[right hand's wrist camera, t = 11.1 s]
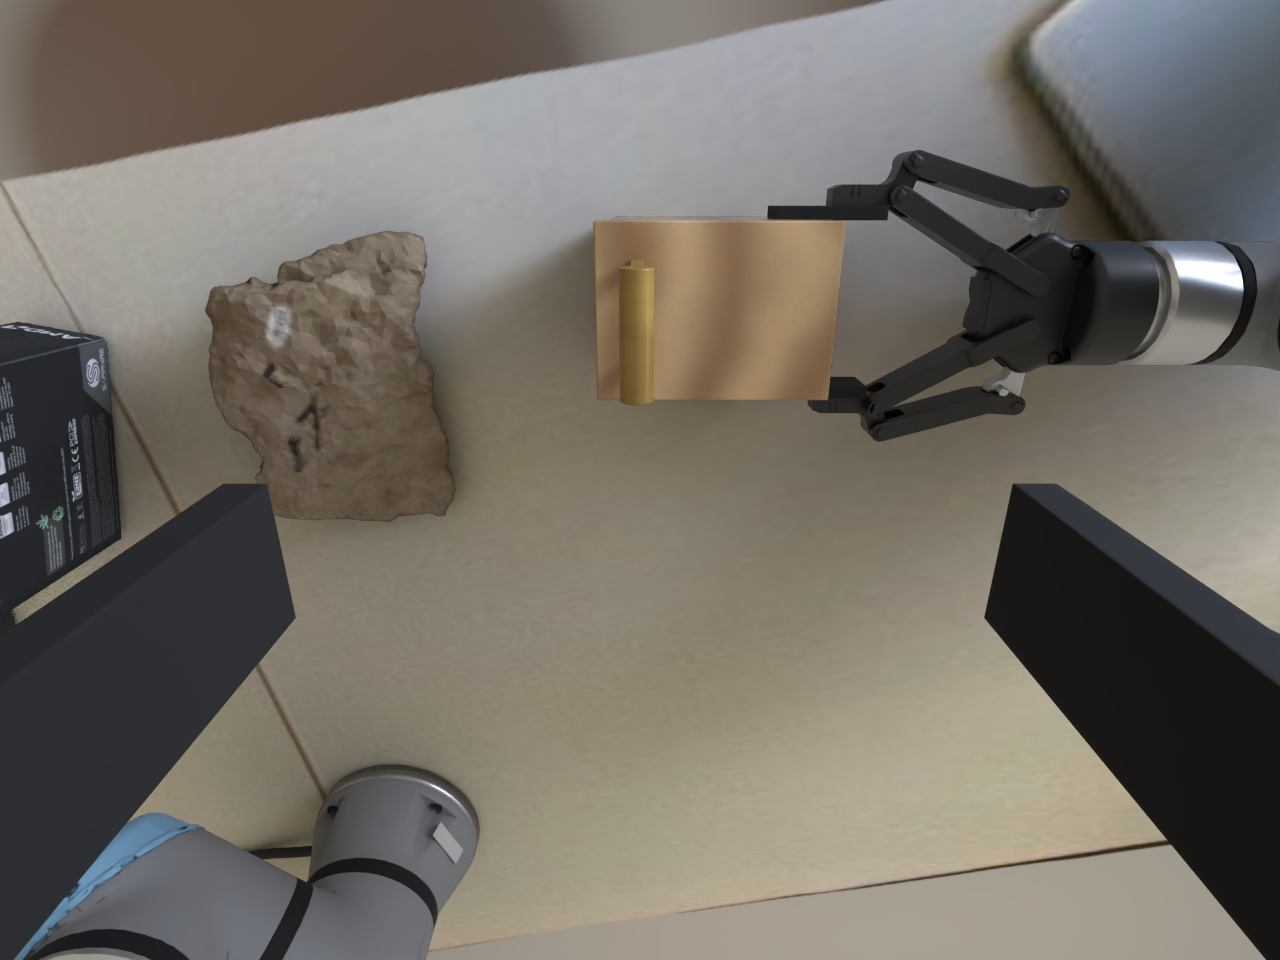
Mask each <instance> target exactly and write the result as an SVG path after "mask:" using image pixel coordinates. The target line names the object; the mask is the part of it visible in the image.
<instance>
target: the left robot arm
mask: <svg viewBox="0 0 1280 960" xmlns="http://www.w3.org/2000/svg"><path fill="white" fill-rule="evenodd" d="M892 167H893V168H892V170H891V172H890V174H889V176H888V178H887V179H886V181H885V182H883V183H882V184H879V185H836V186H833V187H831V188H828V190H827V200H826V206H768V216H767V219H774V220H887V218H888V210H889V211H890V212H892V213H893V214H895V215H896V216H898V217H899V218H901V219H902V220H904V221H905V222H907V223H908V224H910V225H911V226H913V227H914V228H916V229H917V230H919V231H920V232H922V233H923V234H925V235H926V236H928V237H929V238H931V239H932V240H934V241H935V242H937V243H938V244H940V245H941V246H943V247H944V248H946V249H947V250H949V251H950V252H952V253H953V254H955V255H956V256H958V257H959V258H960V259H961V260H962V261H963V262H965V263H966V264H968V265H969V266H971V267H972V268H974V269H975V270H977V273H976V275H975V277H971V280H970V286H969V296H970V303H969V306H968V308H967V310H966V313H965V316H964V321H963V327H965V328H966V330H965V331H963V332H961V333H959V334H957V335H955V336H954V337H952V338H950V339H949V340H948V341H947V343H946V344H944V345H942V346H940V347H938V348H937V349H935V350H933V351H931V352H929V353H927V354H925V355H923V356H921V357H919V358H918V359H916V360H914V361H912V362H910V363H908V364H906V365H904V366H902V367H900V368H898V369H897V370H895V371H893V372H891V373H889V374H887V375H885V376H883V377H881V378H879V379H878V380H876V381H874V382H872V383H870V384H868V385H866V386H865V385H864V384H863V383H861V382H860V381H859V380H858V379H856V378H855V377H830V384H829V393H828V400H808V405H809V407H810V408H811V409H812V410H813V411H816V412H818V413H859V414H860V418H861V426H862V428H863V429H864V430H865V431H866V432H867V433H868V434H869V435H870V436H871V437H872V438H873V439H874V440H875V441H878V442H879V441H885V440H889V439H892V438H896V437H900V436H904V435H908V434H911V433H915V432H919V431H923V430H926V429H930V428H934V427H938V426H942V425H945V424H949V423H953V422H957V421H961V420H964V419H968V418H972V417H976V416H980V415H983V414H987V413H992V414H1007V415H1017V414H1019V413H1021V412H1022V411H1023V410H1024V408H1025V404H1026V403H1025V400H1024V399H1023V398H1021V397H1019V395H1020V391H1021V387H1022V384H1023V380H1024V377H1025V373H1026V372H1029V371H1032V370H1034V369H1035V368H1038V367H1041V366H1045V365H1112V364H1115V363H1118V364H1120V365H1190V364H1191V365H1196V364H1217V365H1249V366H1259V367H1265V368H1270V369H1274V370H1277V371H1280V241H1262V242H1218V241H1141V242H1138V243H1135V242H1132V241H1068V240H1065V239H1063V238H1061V237H1060V236H1059V235H1057V234H1055V229H1056V222H1057V215H1058V208H1059V207H1062V206H1063V205H1065V204H1066V203H1067V202H1068V200H1069V198H1070V190H1069V189H1068V187H1066V186H1064V185H1051V186H1032V187H1029V186H1026V185H1023V184H1020V183H1017V182H1014V181H1011V180H1008V179H1005V178H1002V177H999V176H996V175H993V174H990V173H987V172H984V171H981V170H978V169H976V168H973V167H970V166H967V165H964V164H961V163H958V162H955V161H952V160H949V159H946V158H943V157H940V156H937V155H934V154H931V153H928V152H925V151H921V150H916V151H910V152H905V153H901V154H898V155H897V156H896V157H895V158H894V160H893V164H892ZM916 181H920V182H923V183H926V184H929V185H932V186H935V187H938V188H941V189H944V190H947V191H950V192H953V193H956V194H959V195H962V196H966V197H969V198H972V199H975V200H978V201H981V202H984V203H987V204H990V205H993V206H996V207H1000V208H1007V209H1016V210H1015V216H1016V219H1017V220H1018V221H1019V222H1022V223H1026V224H1027V225H1028V226H1029V227H1030V230H1031V234H1029V235H1027V236H1026V237H1024V238H1023V239H1021V240H1020V241H1018V242H1017V243H1015V244H1014V245H1012V246H1011V247H1009V248H1008V249H1006V250H1004V249H1003V248H1001V247H999V246H998V245H995V244H993V243H991V242H989V241H988V240H986V239H985V238H983V237H982V236H980V235H979V234H977V233H976V232H974V231H973V230H971V229H970V228H968V227H967V226H965V225H964V224H963V223H961V222H960V221H958V220H957V219H955V218H954V217H952V216H951V215H949V214H948V213H946V212H945V211H943V210H942V209H940V208H939V207H937V206H936V205H934V204H933V203H932V202H930V201H929V200H927V199H926V198H924V197H923V196H921V195H920V194H918V193H917V192H915V191H914V190H912V189H913V187H914V185H915V183H916ZM991 359H994V360H995V361H997V362H998V363H999V364H1000V365H1001V366H1003V367H1004V369H1003V372H1002V373H1001V374H1000V375H999V376H997V377H993V378H989V379H987V380H985V381H984V382H983V386H975V387H967V388H962V389H959V390H955V391H951V392H948V393H944V394H940V395H936V396H933V397H929V398H925V399H921V400H918V401H914V402H910V403H907V404H903V405H899V406H895V407H892V406H894V405H896V404H898V403H900V402H902V401H904V400H906V399H908V398H910V397H912V396H914V395H916V394H918V393H920V392H922V391H923V390H925V389H927V388H929V387H931V386H933V385H935V384H937V383H939V382H941V381H943V380H945V379H947V378H949V377H951V376H953V375H955V374H956V373H958V372H960V371H962V370H964V369H966V368H969V367H975V366H978V365H981V364H983V363H985V362H987V361H989V360H991ZM891 407H892V408H891Z"/></svg>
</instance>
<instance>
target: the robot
mask: <svg viewBox="0 0 1280 960" xmlns="http://www.w3.org/2000/svg"><path fill="white" fill-rule="evenodd" d="M14 626H15V623H14V618H13V616H12V615H11V613H10V611H9V612H8V613H6V614H4V615H3V616H1V617H0V636H1V635H2V634H4V633H5V632H7V631H8V630H10V629H11V628H13V627H14Z"/></svg>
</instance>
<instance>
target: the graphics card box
mask: <svg viewBox="0 0 1280 960" xmlns="http://www.w3.org/2000/svg"><path fill="white" fill-rule="evenodd" d="M107 352H108V350H107V344H106V341H105V340H104V338H102V337H98V336H94V335H89V334H82V333H76V332H71V331H65V330H60V329H54V328H51V327H44V326H38V325H33V324H29V323H21V322H16V323H10V324H4V325H0V617H1V616H3V615H4V614H6V613H8V612H9V611H11V610H12V609H14V608H15V607H16V606H18V605H20V604H21V603H23V602H24V601H26V600H28V599H29V598H31V597H32V596H34V595H35V594H36V593H38V592H40V591H41V590H43V589H45V588H46V587H48V586H49V585H51V584H52V583H54V582H55V581H57V580H58V579H60V578H61V577H63V576H64V575H66V574H67V573H69V572H70V571H72V570H74V569H75V568H77V567H78V566H80V565H81V564H83V563H84V562H86V561H87V560H89V559H90V558H92V557H93V556H95V555H97V554H98V553H99V552H101V551H103V550H104V549H106V548H107V547H109V546H110V545H112V544H114V543H115V542H116V541H118V540H120V539H121V527H120V512H119V500H118V484H117V473H116V461H115V459H116V457H115V445H114V431H113V421H112V418H113V417H112V406H111V392H110V377H109V364H108V355H107Z"/></svg>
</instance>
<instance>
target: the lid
mask: <svg viewBox="0 0 1280 960" xmlns="http://www.w3.org/2000/svg"><path fill="white" fill-rule="evenodd" d="M845 227H846V222H845V221H829V220H596V221H594V267H595V311H596V354H597V398H598V400H620V402H622V403H624V404H628V405H645V404H649V403H652V402H653V400H828V393H829V384H830V374H831V364H832V354H833V344H834V335H835V325H836V315H837V305H838V296H839V286H840V276H841V266H842V256H843V247H844V237H845Z"/></svg>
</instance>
